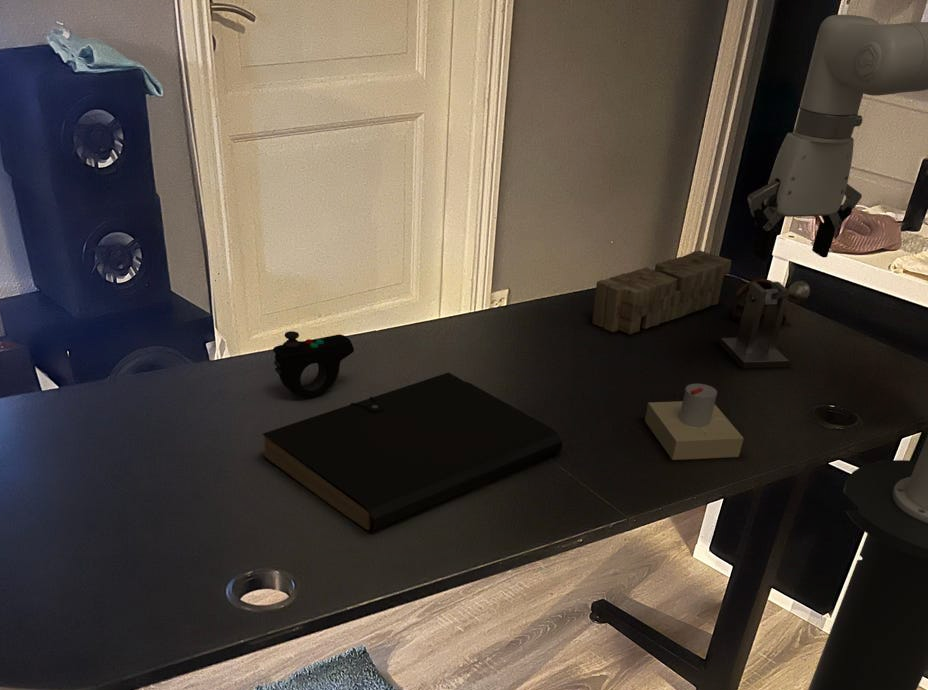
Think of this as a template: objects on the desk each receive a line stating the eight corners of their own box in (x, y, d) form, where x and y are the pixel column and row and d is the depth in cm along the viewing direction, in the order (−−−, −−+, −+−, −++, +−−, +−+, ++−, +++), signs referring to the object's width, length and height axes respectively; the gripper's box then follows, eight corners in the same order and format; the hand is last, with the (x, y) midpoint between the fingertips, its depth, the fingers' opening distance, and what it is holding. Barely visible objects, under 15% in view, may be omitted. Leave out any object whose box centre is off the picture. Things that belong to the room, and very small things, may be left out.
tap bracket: (786, 367, 163) (806, 297, 155) (742, 368, 161) (760, 298, 154) (762, 343, 170) (779, 275, 163) (719, 344, 169) (735, 276, 162)
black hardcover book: (447, 369, 146) (564, 432, 133) (446, 394, 149) (560, 459, 135) (261, 430, 128) (373, 510, 115) (263, 457, 131) (373, 539, 118)
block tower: (622, 342, 170) (724, 302, 185) (629, 294, 165) (734, 257, 179) (589, 327, 175) (691, 290, 189) (595, 280, 169) (700, 245, 184)
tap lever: (813, 301, 149) (814, 279, 148) (794, 302, 149) (795, 279, 148) (771, 308, 162) (772, 288, 161) (753, 308, 161) (754, 288, 160)
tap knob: (691, 409, 142) (698, 378, 139) (716, 420, 139) (724, 389, 136) (673, 417, 139) (679, 386, 136) (697, 429, 137) (704, 397, 134)
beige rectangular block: (739, 457, 137) (744, 437, 135) (672, 460, 136) (676, 440, 134) (707, 418, 147) (711, 399, 145) (644, 420, 145) (648, 401, 143)
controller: (272, 396, 146) (267, 331, 139) (344, 379, 151) (342, 317, 145) (285, 408, 143) (281, 342, 136) (358, 390, 148) (357, 326, 142)
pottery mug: (794, 334, 176) (786, 297, 170) (741, 351, 179) (731, 316, 173) (783, 294, 183) (775, 257, 177) (732, 311, 186) (723, 276, 180)
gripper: (864, 118, 134) (828, 245, 145) (753, 119, 131) (724, 249, 142) (896, 131, 129) (856, 262, 140) (781, 132, 125) (748, 266, 136)
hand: (789, 255), depth 141 cm, fingers open, 9 cm apart
